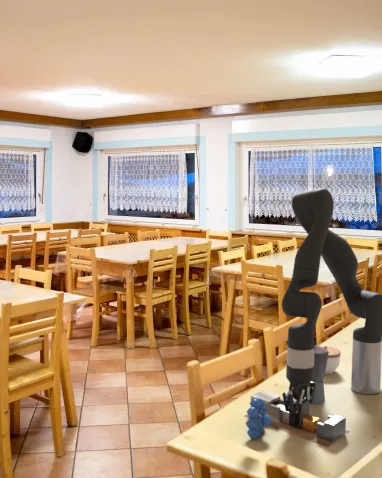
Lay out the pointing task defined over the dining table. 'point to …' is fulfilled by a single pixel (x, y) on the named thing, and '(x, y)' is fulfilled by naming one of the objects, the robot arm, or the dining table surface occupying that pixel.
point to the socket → (332, 428)
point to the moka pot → (319, 373)
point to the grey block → (300, 416)
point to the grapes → (257, 418)
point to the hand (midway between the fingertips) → (298, 422)
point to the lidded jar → (332, 359)
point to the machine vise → (275, 416)
